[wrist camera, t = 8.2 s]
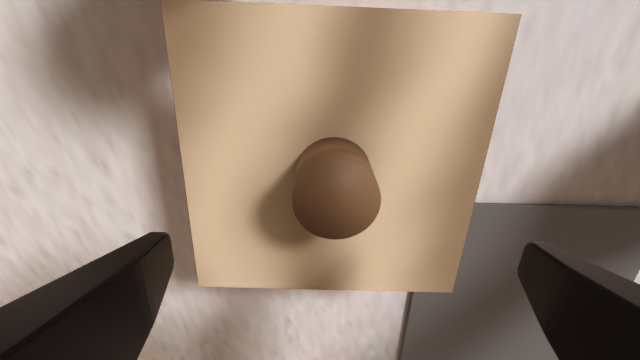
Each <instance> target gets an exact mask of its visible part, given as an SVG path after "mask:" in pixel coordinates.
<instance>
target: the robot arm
mask: <svg viewBox="0 0 640 360" xmlns="http://www.w3.org/2000/svg"><path fill="white" fill-rule="evenodd" d="M173 267H174V257H173V251H172V245H171V239H170V236H169V234H168V233H166V232H150V233H148V234H146V235H144V236H142V237H140V238H138V239H136V240H134V241H132V242H130V243H128V244H126V245H124V246H122V247H120V248H118V249H116V250H114V251H112V252H110V253H108V254H106V255H104V256H102V257H100V258H98V259H96V260H94V261H92V262H90V263H88V264H86V265H84V266H82V267H80V268H78V269H76V270H74V271H72V272H70V273H68V274H66V275H64V276H62V277H60V278H58V279H56V280H54V281H52V282H50V283H48V284H46V285H44V286H42V287H40V288H38V289H36V290H34V291H32V292H30V293H28V294H26V295H24V296H22V297H20V298H18V299H16V300H14V301H12V302H10V303H8V304H6V305H4V306H2V307H0V360H137V358H138V356H139V354H140V352H141V350H142V348H143V346H144V344H145V342H146V340H147V338H148V336H149V333H150V331H151V329H152V327H153V324H154V322H155V319H156V317H157V314H158V311H159V308H160V305H161V302H162V300H163V297H164V294H165V291H166V288H167V285H168V282H169V279H170V277H171V274H172V271H173ZM517 275H518V278H519V280H520V283H521V285H522V287H523V289H524V292H525V294H526V296H527V298H528V300H529V303H530V305H531V307H532V309H533V312H534V314H535V316H536V318H537V320H538V323H539V325H540V327H541V329H542V331H543V333H544V335H545V337H546V338H547V340H548V342H549V344H550V346H551V347H552V349H553V351H554V353H555V354H556V356H557V358H558V359H559V360H640V284H637V283H635V282H633V281H631V280H629V279H626V278H624V277H622V276H620V275H617V274H615V273H613V272H611V271H609V270H606V269H604V268H602V267H600V266H597V265H595V264H593V263H591V262H589V261H586V260H584V259H582V258H580V257H577V256H575V255H573V254H571V253H569V252H566V251H564V250H562V249H560V248H557V247H555V246H553V245H551V244H548V243H546V242H528V243H527V244H526V245H525V247H524V249H523V252H522V255H521V258H520V261H519V264H518V268H517Z"/></svg>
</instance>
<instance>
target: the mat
mask: <svg viewBox="0 0 640 360" xmlns="http://www.w3.org/2000/svg"><path fill="white" fill-rule="evenodd" d="M528 242H546V243H548V244H551V245H553V246H555V247H557V248H560V249H562V250H564V251H566V252H569V253H571V254H573V255H575V256H577V257H580V258H582V259H584V260H586V261H589V262H591V263H593V264H595V265H597V266H600V267H602V268H604V269H606V270H609V271H611V272H613V273H615V274H617V275H620V276H622V277H624V278H626V279H629V280H631V281H634V279H635V277H636V275H637V273H638V271H639V270H640V207H609V206H573V205H538V204H503V203H474V207H473V211H472V215H471V219H470V223H469V227H468V231H467V235H466V239H465V243H464V247H463V251H462V255H461V259H460V263H459V267H458V271H457V275H456V279H455V283H454V287H453V291H452V293H450V292H412V293H411V299H410V304H409V310H408V315H407V320H406V326H405V331H404V336H403V342H402V347H401V353H400V358H399V360H559V359H558V358H557V356H556V354H555V353H554V351H553V349H552V347H551V346H550V344H549V342H548V340H547V338H546V337H545V335H544V333H543V331H542V329H541V327H540V325H539V323H538V320H537V318H536V316H535V314H534V312H533V309H532V307H531V305H530V303H529V300H528V298H527V296H526V294H525V292H524V289H523V287H522V285H521V283H520V280H519V278H518V275H517V268H518V264H519V261H520V258H521V255H522V252H523V249H524V247H525V245H526V244H527V243H528Z"/></svg>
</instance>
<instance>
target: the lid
mask: <svg viewBox="0 0 640 360" xmlns="http://www.w3.org/2000/svg"><path fill="white" fill-rule="evenodd" d="M160 1H161V9H162V16H163V24H164V31H165V39H166V46H167V54H168V61H169V69H170V76H171V84H172V91H173V99H174V106H175V114H176V121H177V129H178V136H179V143H180V151H181V158H182V166H183V173H184V181H185V188H186V196H187V203H188V211H189V218H190V226H191V233H192V241H193V248H194V256H195V263H196V271H197V278H198V286H199V287H238V288H281V289H323V290H365V291H407V292H450V293H452V291H453V287H454V283H455V279H456V275H457V271H458V267H459V263H460V259H461V255H462V251H463V247H464V243H465V239H466V235H467V231H468V227H469V223H470V219H471V215H472V211H473V207H474V203H475V199H476V195H477V191H478V187H479V183H480V179H481V175H482V171H483V167H484V163H485V159H486V155H487V151H488V147H489V143H490V139H491V135H492V131H493V127H494V123H495V119H496V115H497V111H498V107H499V103H500V99H501V94H502V90H503V86H504V82H505V78H506V74H507V70H508V66H509V62H510V58H511V54H512V50H513V46H514V42H515V38H516V34H517V30H518V26H519V22H520V18H521V14H506V13H483V12H460V11H437V10H413V9H390V8H367V7H344V6H321V5H297V4H274V3H251V2H228V1H205V0H160Z"/></svg>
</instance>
